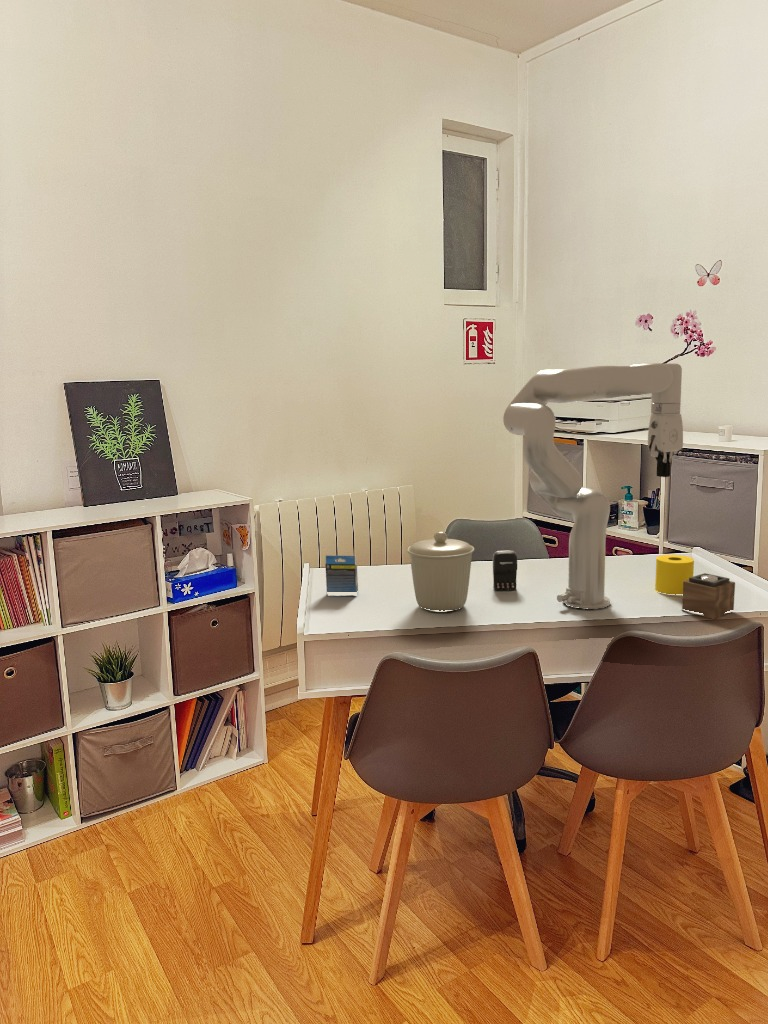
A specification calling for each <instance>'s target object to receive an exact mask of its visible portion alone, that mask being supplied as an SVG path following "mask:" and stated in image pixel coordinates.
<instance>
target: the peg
mask: <svg viewBox="0 0 768 1024" xmlns="http://www.w3.org/2000/svg"><path fill="white" fill-rule="evenodd" d="M712 575H713V574H711V575H703V576H701V579H702V580H707V581H711V582H713V581H717V580H718V577H716V576H717V575H716V576H712Z"/></svg>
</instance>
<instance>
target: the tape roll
mask: <svg viewBox="0 0 768 1024" xmlns="http://www.w3.org/2000/svg"><path fill="white" fill-rule="evenodd" d="M694 565H695V560H694V558H693V557H690V556H687V555H681V554H662V555H659V556H656V558H655V585H654V591H655V590H657V591H658V592H661V593H666V594H675V595H676V594H683V581H686V580H689V578H690V577H694V568H695V566H694ZM658 592H657V593H658Z"/></svg>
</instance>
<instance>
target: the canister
mask: <svg viewBox="0 0 768 1024" xmlns="http://www.w3.org/2000/svg"><path fill="white" fill-rule="evenodd" d="M406 552H407V554H409V559H410V568H411V574H412V582H413V583H412V584H413V588H414V589H413V590H414V596H415V600H416V603H417V605H418V607H420V608H421V607H422V608H426V609H430V610H439V611H441V610H443V611H445V610H455V609H459V608H461V607H462V608H463V607H464V606H465V604H466V603H467V600H468V595H469V594H468V593H469V584H470V578H471V577H470V576H471V568H472V567H471V566H472V558H473V557H472V555H473V553H474V552H475V547H474V546H473V545H471V544H470V543H468V542H467V541H464V540H459V539H455V538H448V535H447V533H446V532H445V531H437V532H435V533H434V535H433V538H431V539H422V540H420V541H417V542H415V543H412V545H409V546H408V548H407V549H406ZM422 608H421V609H422ZM462 608H461V609H462ZM459 610H460V609H459Z"/></svg>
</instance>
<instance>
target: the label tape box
mask: <svg viewBox="0 0 768 1024" xmlns="http://www.w3.org/2000/svg"><path fill="white" fill-rule="evenodd" d="M336 560H343V561H336ZM358 582H359V579H358V566H357V565H356V556H355V555H332V554H331V555H328V554H325V583H326V584H325V585H326V593H327V592H357V591H358V592H359V583H358Z"/></svg>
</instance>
